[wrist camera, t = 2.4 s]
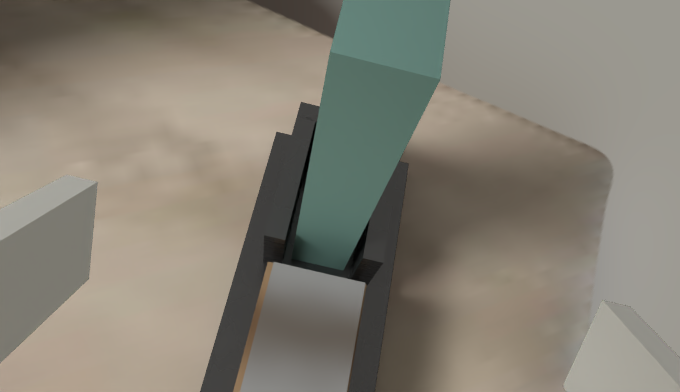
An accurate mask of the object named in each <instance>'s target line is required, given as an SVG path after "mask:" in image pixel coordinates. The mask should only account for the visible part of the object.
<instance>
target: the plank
mask: <svg viewBox="0 0 680 392" xmlns="http://www.w3.org/2000/svg"><path fill="white" fill-rule="evenodd" d="M449 7H450V0H343V4H342V8H341V12H340V16H339V20H338V23H337V27H336V31H335V35H334V39H333V43H332V46H331V50H330V55H329V60H328V66H327V71H326V76H325V82H324V87H323V92H322V98H321V103H320V108H319V114H318V119H317V124H316V130H315V135H314V140H313V146H312V151H311V156H310V162H309V167H308V172H307V178H306V183H305V188H304V194H303V199H302V204H301V210H300V215H299V220H298V226H297V231H296V236H295V242H294V247H293V252H292V258H291V259H295V260H299V261H304V262H308V263H312V264H317V265H321V266H325V267H330V268H334V269H338V270H344V268H345V266H346V264H347V262H348V260H349V258H350V256H351V254H352V252H353V250H354V249H355V247H356V245H357V243H358V241H359V239H360V237H361V235H362V233H363V231H364V229H365V227H366V225H367V223H368V221H369V219H370V217H371V215H372V213H373V211H374V209H375V207H376V205H377V203H378V201H379V199H380V197H381V195H382V193H383V191H384V189H385V187H386V185H387V183H388V181H389V180H390V178H391V176H392V174H393V172H394V170H395V168H396V166H397V164H398V162H399V160H400V158H401V156H402V154H403V152H404V150H405V148H406V146H407V144H408V142H409V140H410V138H411V136H412V134H413V132H414V130H415V128H416V126H417V124H418V122H419V120H420V118H421V116H422V114H423V112H424V111H425V109H426V107H427V105H428V103H429V101H430V99H431V97H432V95H433V93H434V91H435V89H436V87H437V85H438V83H439V81H440V78H441V70H442V62H443V54H444V46H445V38H446V30H447V22H448V14H449Z"/></svg>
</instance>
